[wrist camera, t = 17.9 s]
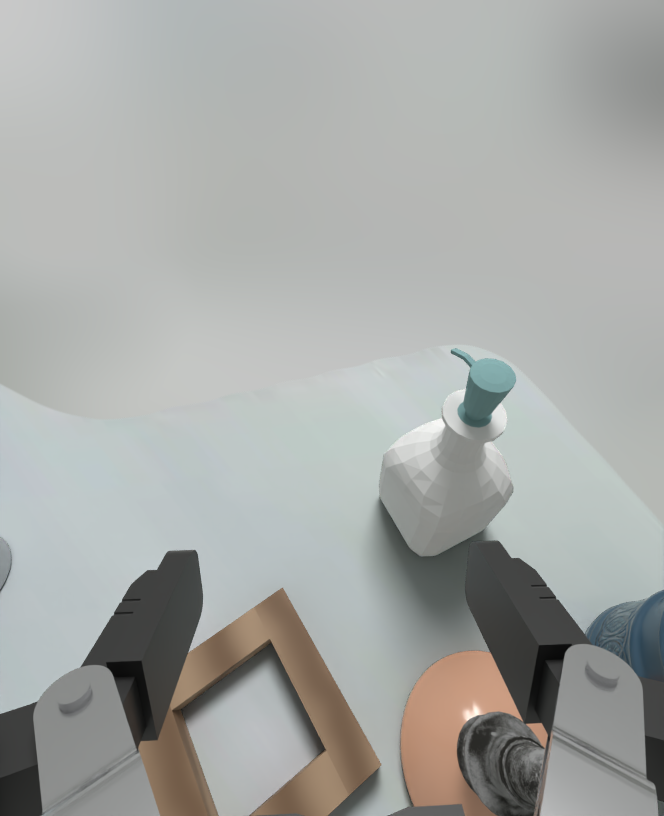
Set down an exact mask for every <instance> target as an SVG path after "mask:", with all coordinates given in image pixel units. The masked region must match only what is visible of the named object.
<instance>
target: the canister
mask: <svg viewBox="0 0 664 816" xmlns="http://www.w3.org/2000/svg"><path fill="white" fill-rule="evenodd" d="M585 635H586V637H587V638H588V639H589V641H590V642H591V643H592V645H594V646H598V647H600V648H603V649H605V650H607V651H610V652H611V653H613V654H615V655H616V656H618V657H619V658H621V659H622V660H623V661H624V662H626V663H627V664H628V665H629V666H630V667H631V668H632V669H633V670H634V672H635V673H636V674H637V676H640V677H643V678H647V679H651V680H656V681H660V682H664V590H662V591H659V592H657V593H655V594H653V595H652V596H651V597H649V598H646V599H643V600H640V601H632V602H626V603H622V604H619V605H616V606H614V607H611V608H609V609H607V610H606V611H604V612H603V613H601V614H600V615H599V616H598V617H597V618H596V619H595V620H594V621H593V622H592V623H591V625H590V626H589V627H588V629H587V631H586V632H585Z"/></svg>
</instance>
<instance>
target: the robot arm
mask: <svg viewBox="0 0 664 816" xmlns="http://www.w3.org/2000/svg"><path fill="white" fill-rule="evenodd" d="M10 565H11V551H10V548H9V545H8V544H7V543H6V541H5V540H4V539H2V538H1V537H0V589H1V587H2V586H3V584H4V582H5V580H6V578H7V575H8V573H9V570H10ZM465 592H466V598H467V602H468V605H469V608H470V610H471V612H472V614H473V617H474V619H475V621H476V623H477V625H478V627H479V629H480V631H481V633H482V636H483V638H484V640H485V642H486V644H487V646H488V648H489V650H490V652H491V655H492V657H493V659H494V661H495V663H496V665H497V667H498V669H499V671H500V674H501V676H502V678H503V680H504V682H505V684H506V686H507V688H508V691H509V693H510V695H511V697H512V699H513V701H514V703H515V705H516V707H517V710H518V712H519V714H520V716H521V718H522V720H523V722H524V724H535V723H542V725H543V727H544V728H545V730H546V732H547V734H548V736H547V741H546V746H545V752H544V758H543V764H542V769H541V775H540V781H539V787H538V793H537V799H536V804H535V810H534V816H658V804H657V800H660V801H663V802H664V682H660V681H656V680H651V679H647V678H643V677H640V676H637V674H636V673H635V672H634V670H633V669H632V668H631V667H630V666H629V665H628V664H627V663H626V662H624V661H623V660H622V659H621V658H619V657H618V656H616V655H615V654H613V653H611V652H610V651H607V650H605V649H603V648H600V647H598V646H594V645H592V643H591V642H590V641H589V639H588V638H587V637H586V635H585V634H584V633H583V631H582V630H581V629H580V628H579V626H578V625H577V624H576V622H575V621H574V620H573V618H572V617H571V616H570V614H569V613H568V612H567V611H566V609H565V608H564V607H563V605H562V604H561V603H560V601H559V600H556V596H555V595H554V594H553V592H552V591H551V590H550V588H549V587H547V584H546V583H545V582H544V581H543V579H542V578H541V577H540V575H539V574H538V573H537V571H536V570H535V569H533V568H532V567H531V566H529V565H528V564H526V563H525V562H524V561H522V560H521V559H520V558H511V557H510V556H509V554H508V553H507V551H506V550H505V549H504V547H503V546H502V544H501V543H500V542H499V541H472V542H471V543H470V546H469V553H468V562H467V572H466V581H465ZM202 606H203V591H202V583H201V576H200V568H199V561H198V554H197V552H196V550H182V551H168V552H167V553H166V555H165V556H164V558H163V560H162V562H161V564H160V565H159V567H158V569H157V570H147V571H146V572H145V573H144V574H143V575H141V576H140V577H139V578H138V579H137V580H136V581H135V582H133V583H132V584H131V586H130V588H129V589H128V591H127V592H126V594H125V596H124V597H123V599H122V603H120V604H119V605H118V607H117V609H116V610H115V612H114V616H112V617H111V619H110V620H109V622H108V623H107V625H106V627H105V628H104V630H103V632H102V633H101V635H100V636H99V638H98V640H97V641H96V643H95V645H94V646H93V648H92V650H91V651H90V653H89V654H88V656H87V658H86V659H85V661H84V663H83V664H82V666H81V667H80V668H78V669H75V670H73V671H71V672H69V673H67V674H65V675H64V676H62V677H61V678H59V679H58V680H57V681H55V682H54V683H53V684H52V685H51V686H50V687H49V688H48V689H47V690H46V691H45V692H44V693H43V695H42V696H41V697H40V699H39V701H38V702H35V703H33V704H30V705H27V706H24V707H21V708H18V709H15V710H12V711H9V712H5V713H2V714H0V816H160V814H159V811H158V807H157V804H156V801H155V798H154V795H153V792H152V789H151V786H150V783H149V780H148V777H147V773H146V770H145V767H144V764H143V761H142V758H141V755H140V753H139V750H138V747H139V744H140V742H141V741H155V740H158V738H159V735H160V732H161V729H162V726H163V723H164V721H165V718H166V715H167V712H168V709H169V706H170V703H171V700H172V697H173V695H174V692H175V689H176V686H177V683H178V680H179V677H180V674H181V671H182V669H183V666H184V663H185V660H186V657H187V654H188V651H189V648H190V645H191V643H192V640H193V637H194V634H195V631H196V628H197V625H198V622H199V619H200V616H201V612H202ZM257 816H304V815H300V814H297V813H293V814H275V815H257ZM388 816H465V814H464V810H463V807H462V804H453V805H435V806H418V807H407V808H405V809H402V810H400V811H398V812H395V813H393V814H391V815H388Z"/></svg>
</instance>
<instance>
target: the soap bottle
mask: <svg viewBox="0 0 664 816" xmlns="http://www.w3.org/2000/svg"><path fill="white" fill-rule="evenodd" d="M451 353H452V354H454V355H456V356H457V357H459V358H461V359H463V360H464V361H465V362H466V363H467V364H468V365H469V366H470V367H471V368H470V372H469V376H468V381H467V386H466V389H462V390H458V391H455V392H453V393H452V394H451V395H449V396H448V397H447V398H446V400H445V402H444V404H443V406H442V418H440V419H437V420H435V421H432V422H429V423H426V424H424V425H422V426H420V427H418V428H416V429H414V430H412V431H410V432H409V433H407V434H405V435H403V436H402V437H400V438H399V439H398V440H397V441H396V442H395V443H394V444H393V445H392V446H391V447H390V448H389V449H388V450H387V451H386V452H385V453H384V455H383V461H382V468H381V474H380V480H379V493H380V499H381V500H382V502H383V504H384V505H385V507H386V509H387V511H388V512H389V514H390V516H391V517H392V519H393V521H394V522H395V524H396V526H397V528H398V529H399V531H400V533H401V534H402V536H403V538H404V539H405V541H406V543H407V545H408V546H409V548H410V549H411V550H413V551H414V552H415V553H417V554H418V555H419V556H436V555H438V554H440V553H442V552H444V551H445V550H447V549H449V548H451V547H453V546H455V545H457V544H458V543H460V542H462V541H464V540H466V539H468V538H470V537H471V536H473V535H475V534H477V533H479V532H481V531H483V530H484V529H485V528H486V527H487V525H488V524H489V523H490V522H491V521H492V520H493V518H494V517H495V516H496V515H497V514H498V513H499V511H500V510H501V509H502V508H503V507H504V506H505V505H506V503H507V501H508V500H509V498H510V496H511V495H512V493H513V485H512V481H511V478H510V474H509V471H508V468H507V464H506V462H505V460H504V458H503V456H502V455H501V454H500V452H499V451H498V449H497V448H496V447H495V445H494V444H493V443H492V441H494V440H495V439H496V438H498V437H499V436H500V435H501V434H502V433H503V431H504V429H505V427H506V424H507V415H506V411H505V409H504V408H503V406H502V404H501V401H502V400H503V399H504V398H505V396H506V395H507V394H508V393H509V392H510V390H511V389H512V388H513V387H514V384H515V382H516V376H515V373H514V371H513V370H512V369H511V367H510V366H508V365H507V364H505V363H504V362H502V361H499V360H496V359H488V358H486V359H481V360H478V361H476V362H475V361H474V360H473V358H472V357H471V356H470V355H469V354H467V353H465V352H463V351H461V350H459V349H457V348H455V349H452V350H451Z"/></svg>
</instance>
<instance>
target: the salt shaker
mask: <svg viewBox="0 0 664 816" xmlns="http://www.w3.org/2000/svg"><path fill="white" fill-rule="evenodd" d="M544 752H545V748H544V747H543V746H542V745H541V743H540V741H539V739H538V738H537V736H536V735H535V734H534V732H533V731H532V730H531V728H530V727H528V726H527V725H526V724H524V722H523V721H522V720H520V719H519V718H517V717H515V716H513V715H511V714H508V713H504V712H499V711H498V712H489V713H486V714H484V715H477V716H475V717H472V718H470V719H469V720H468V721H467V722H466V723H465V724H464V725H463V727H462V729H461V731H460V733H459V737H458V741H457V758H458V763H459V767H460V770H461V772H462V775H463V777H464V779H465V781H466V782H467V784H468V785H469V787H470V788H471V789H472V790H473V791H474V792H475V793H476V794H477V796H478V797H479V799H480V800H481V802H482V803H483V804H484V805H485V806H486V807H487V808H488V809H489V810H490V811H491V812H492V813H494V814H495V815H497V816H534V810H535V804H536V799H537V793H538V787H539V781H540V775H541V769H542V764H543V758H544Z"/></svg>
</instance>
